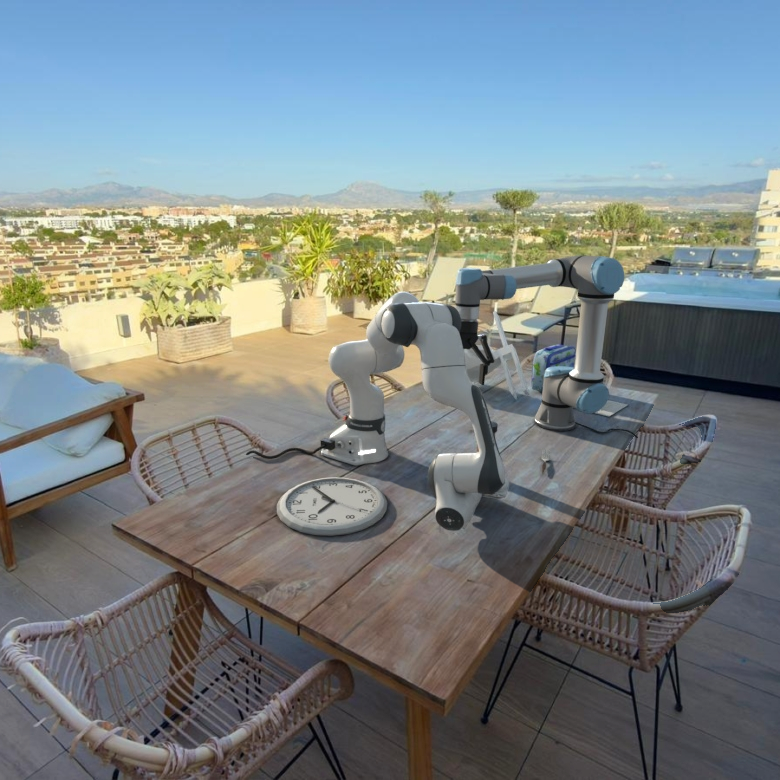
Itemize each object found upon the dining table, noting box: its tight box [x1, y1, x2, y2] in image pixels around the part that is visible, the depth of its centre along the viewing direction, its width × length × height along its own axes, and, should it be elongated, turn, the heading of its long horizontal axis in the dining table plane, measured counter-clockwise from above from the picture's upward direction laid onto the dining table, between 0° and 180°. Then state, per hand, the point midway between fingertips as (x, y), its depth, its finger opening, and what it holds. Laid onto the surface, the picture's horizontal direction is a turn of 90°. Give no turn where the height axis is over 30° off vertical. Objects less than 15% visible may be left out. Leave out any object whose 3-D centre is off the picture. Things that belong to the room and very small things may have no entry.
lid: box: [491, 420, 499, 434], centre depth 156 cm, size 6×6×2 cm
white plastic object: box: [463, 310, 531, 400], centre depth 245 cm, size 37×45×31 cm
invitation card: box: [594, 399, 629, 418], centre depth 226 cm, size 21×1×15 cm
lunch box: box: [530, 344, 576, 392], centre depth 247 cm, size 26×11×21 cm, turn 134°
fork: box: [541, 449, 551, 474], centre depth 169 cm, size 3×16×2 cm, turn 160°
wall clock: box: [276, 476, 388, 537], centre depth 142 cm, size 30×2×30 cm
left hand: (477, 469), depth 150 cm, fingers open, 8 cm apart
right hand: (461, 385), depth 168 cm, fingers open, 13 cm apart
